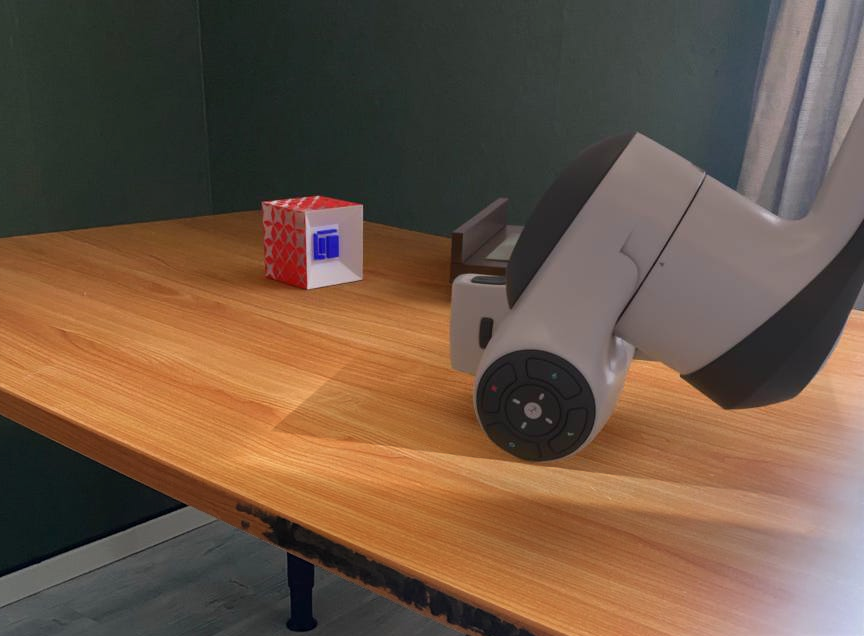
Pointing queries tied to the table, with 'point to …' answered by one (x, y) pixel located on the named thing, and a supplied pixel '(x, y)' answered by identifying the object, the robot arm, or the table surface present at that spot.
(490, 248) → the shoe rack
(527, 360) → the robot arm
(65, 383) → the table surface
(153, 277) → the table surface
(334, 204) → the red and white cube
